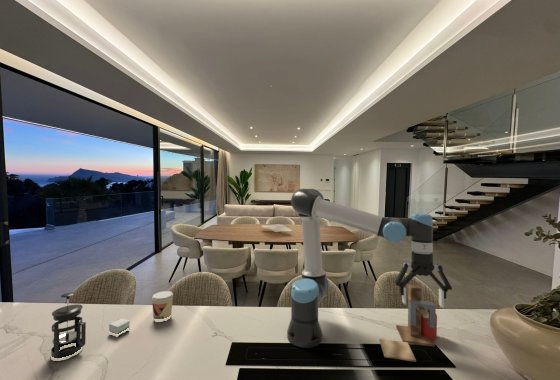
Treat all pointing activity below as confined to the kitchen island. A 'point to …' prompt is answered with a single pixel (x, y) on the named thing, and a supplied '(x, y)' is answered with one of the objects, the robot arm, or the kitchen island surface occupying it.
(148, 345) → the kitchen island surface
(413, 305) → the gray arch block
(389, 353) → the coaster
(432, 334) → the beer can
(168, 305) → the coffee cup
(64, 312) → the french press
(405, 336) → the stand
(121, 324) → the small box
